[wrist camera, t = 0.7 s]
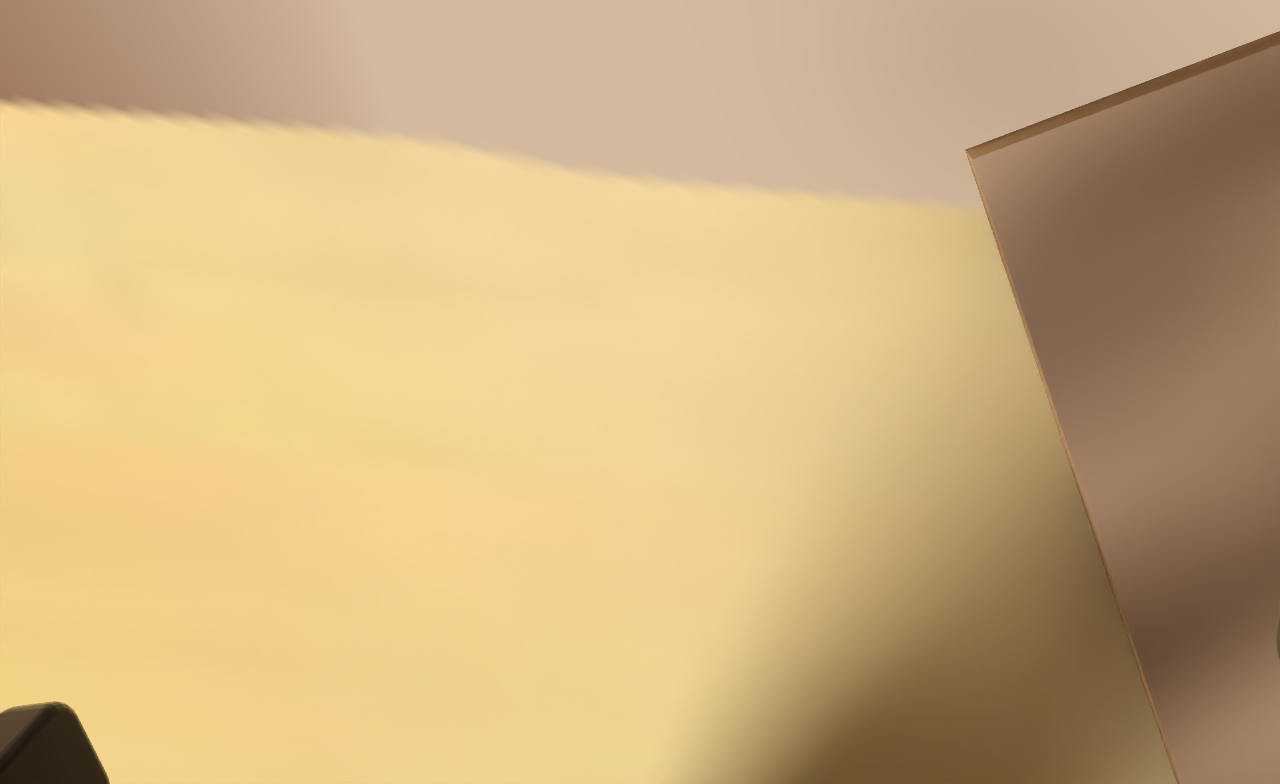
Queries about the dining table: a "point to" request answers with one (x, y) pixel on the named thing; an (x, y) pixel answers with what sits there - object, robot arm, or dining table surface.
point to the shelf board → (1167, 375)
